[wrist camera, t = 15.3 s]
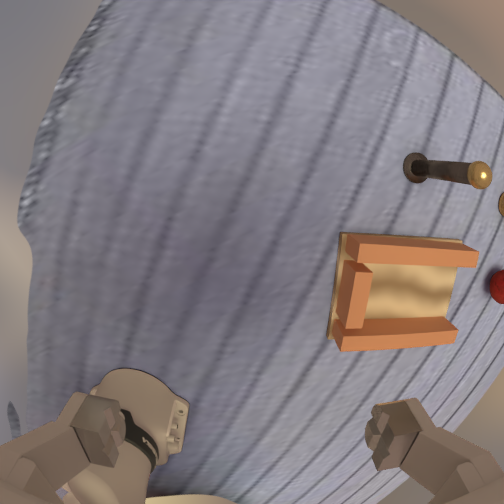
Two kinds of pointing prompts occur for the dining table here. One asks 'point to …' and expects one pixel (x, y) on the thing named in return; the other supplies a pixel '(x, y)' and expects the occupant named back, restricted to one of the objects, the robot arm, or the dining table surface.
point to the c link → (359, 283)
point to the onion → (497, 287)
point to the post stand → (447, 171)
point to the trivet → (399, 286)
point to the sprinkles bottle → (501, 204)
